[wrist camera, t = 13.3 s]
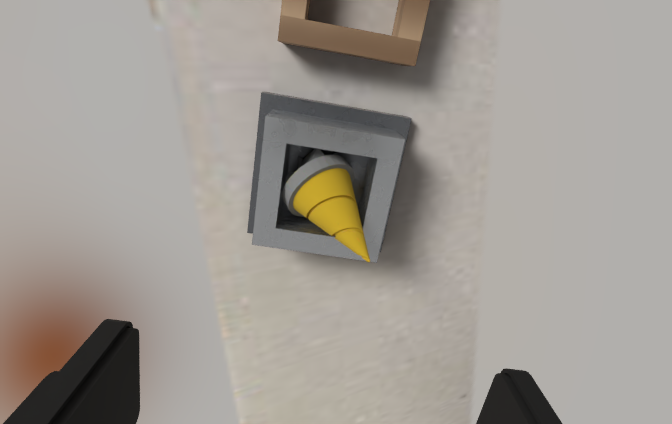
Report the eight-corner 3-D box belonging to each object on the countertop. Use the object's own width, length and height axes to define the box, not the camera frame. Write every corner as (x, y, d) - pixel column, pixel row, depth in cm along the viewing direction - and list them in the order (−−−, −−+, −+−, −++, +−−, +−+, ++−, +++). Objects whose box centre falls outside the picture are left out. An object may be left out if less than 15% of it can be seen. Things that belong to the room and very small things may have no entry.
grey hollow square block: (263, 91, 29) (250, 96, 24) (408, 116, 30) (424, 126, 25) (249, 228, 33) (236, 254, 28) (379, 247, 33) (387, 276, 29)
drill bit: (338, 125, 29) (417, 227, 25) (315, 176, 33) (381, 272, 28) (275, 129, 26) (353, 247, 22) (258, 185, 30) (321, 295, 25)
